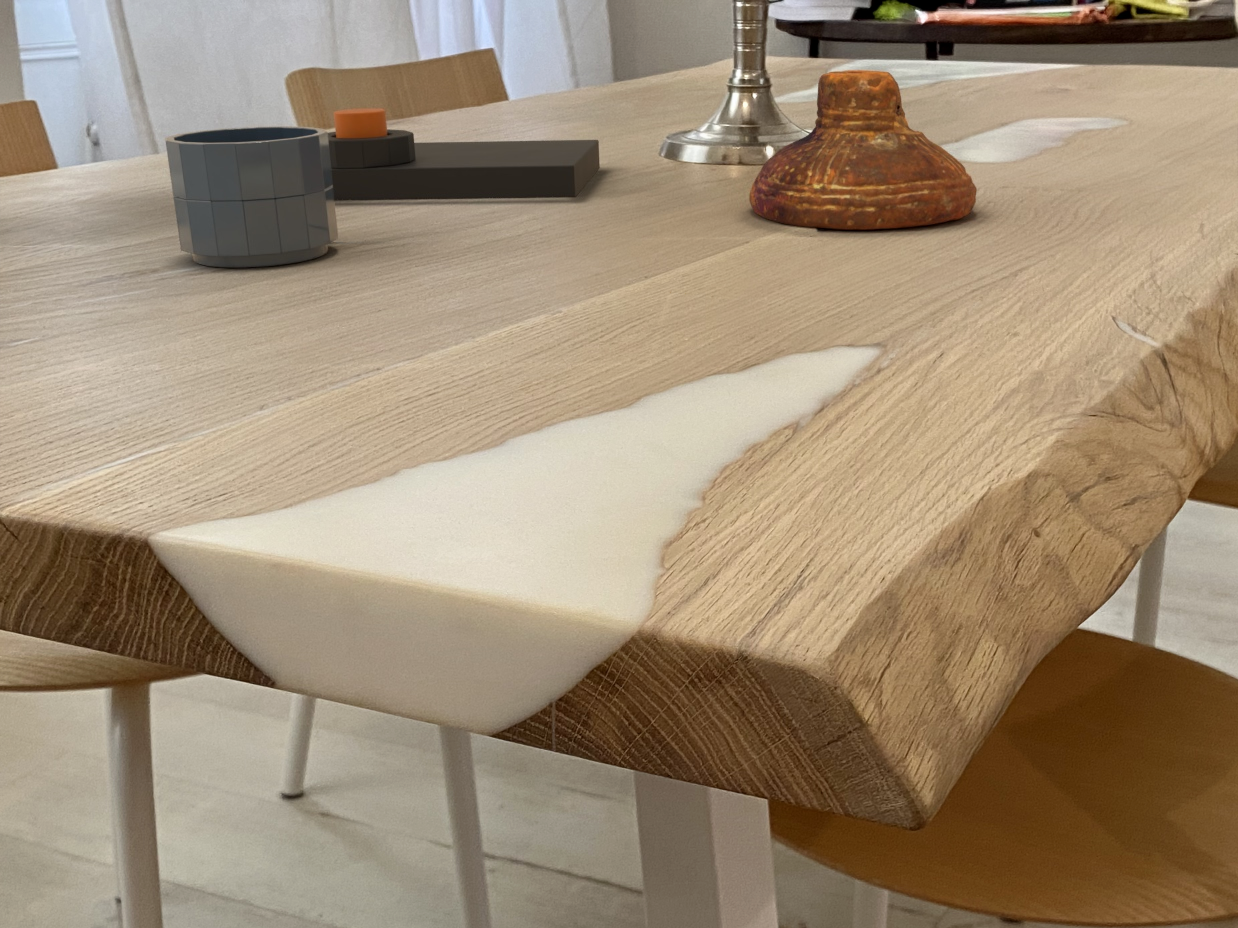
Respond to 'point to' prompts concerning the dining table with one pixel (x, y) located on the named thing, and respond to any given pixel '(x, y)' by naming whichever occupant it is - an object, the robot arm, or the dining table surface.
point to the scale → (458, 168)
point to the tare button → (360, 123)
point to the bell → (862, 165)
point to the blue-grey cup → (253, 195)
